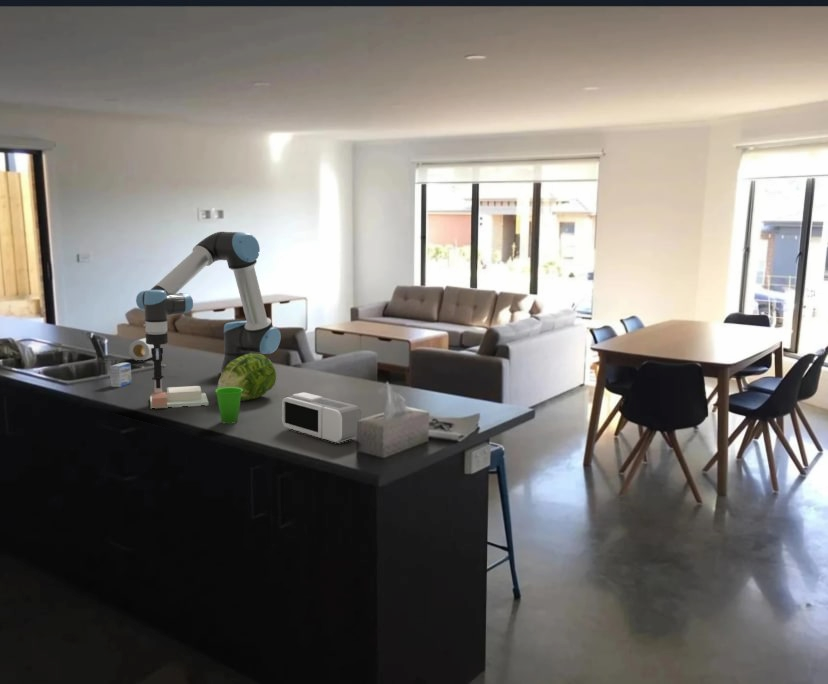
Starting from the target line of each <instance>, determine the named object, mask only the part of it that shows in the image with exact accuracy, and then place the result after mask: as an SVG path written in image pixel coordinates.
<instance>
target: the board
mask: <svg viewBox="0 0 828 684" xmlns="http://www.w3.org/2000/svg"><path fill="white" fill-rule="evenodd" d="M166 396H167V394H166ZM149 400H150V409H152V408H155V409H168V407H172V408H183V407H182V406H188V407H201V405H205V406H209V399H208V397H207V393H206V392H202V399H192V400H175V401H168V398H167V406H161V407H152V395H150V396H149Z"/></svg>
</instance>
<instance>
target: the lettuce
mask: <svg viewBox="0 0 828 684" xmlns="http://www.w3.org/2000/svg"><path fill="white" fill-rule="evenodd" d="M220 374H221V373H220ZM276 381H277V371H276V368H275V366H274V364H273V362H272V361H271V360H270V359H269V358H268V357H267V356H265V355H264V354H262V353H256V352H251V353H250V354H246V355H243V356H241V357H239V358H237V359H234V360H232V361H231V362H229V363H228V364H227V366H226V367H225V369H224V370H223V372H222V374H221V375H220V377H219V379H218V382H217V389H219V388H224V387H237V388H241V389H243V391H242V393H241V400H240V402H245V400H247V401H250V399H251V400H255V399H259V398H260V397H262V396H264V395H266V393H268V392H269V391H271V390H272V389H273V388H274V386H275V384H276Z"/></svg>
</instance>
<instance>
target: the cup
mask: <svg viewBox="0 0 828 684" xmlns="http://www.w3.org/2000/svg"><path fill="white" fill-rule="evenodd" d="M242 391H243V389H241V388H237V387H224V388H219V389H218V388H216V389H215V391H214V392H215V393H216V398H217V399H216V400H217V404H218V409H219V413H220V421H221V423H222V422H225V423H232V422H236V421H237V422H238V420H239V414H240V413H239V412H240V405H241V401H240V400H241V393H242ZM237 422H236V423H237ZM225 423H224V424H225ZM232 424H233V423H232Z"/></svg>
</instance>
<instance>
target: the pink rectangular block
mask: <svg viewBox="0 0 828 684" xmlns="http://www.w3.org/2000/svg"><path fill="white" fill-rule="evenodd" d="M166 395H167V391H166V392H165V391H162V393H154V392H151V396H152V407H161V406H167V396H166Z"/></svg>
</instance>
